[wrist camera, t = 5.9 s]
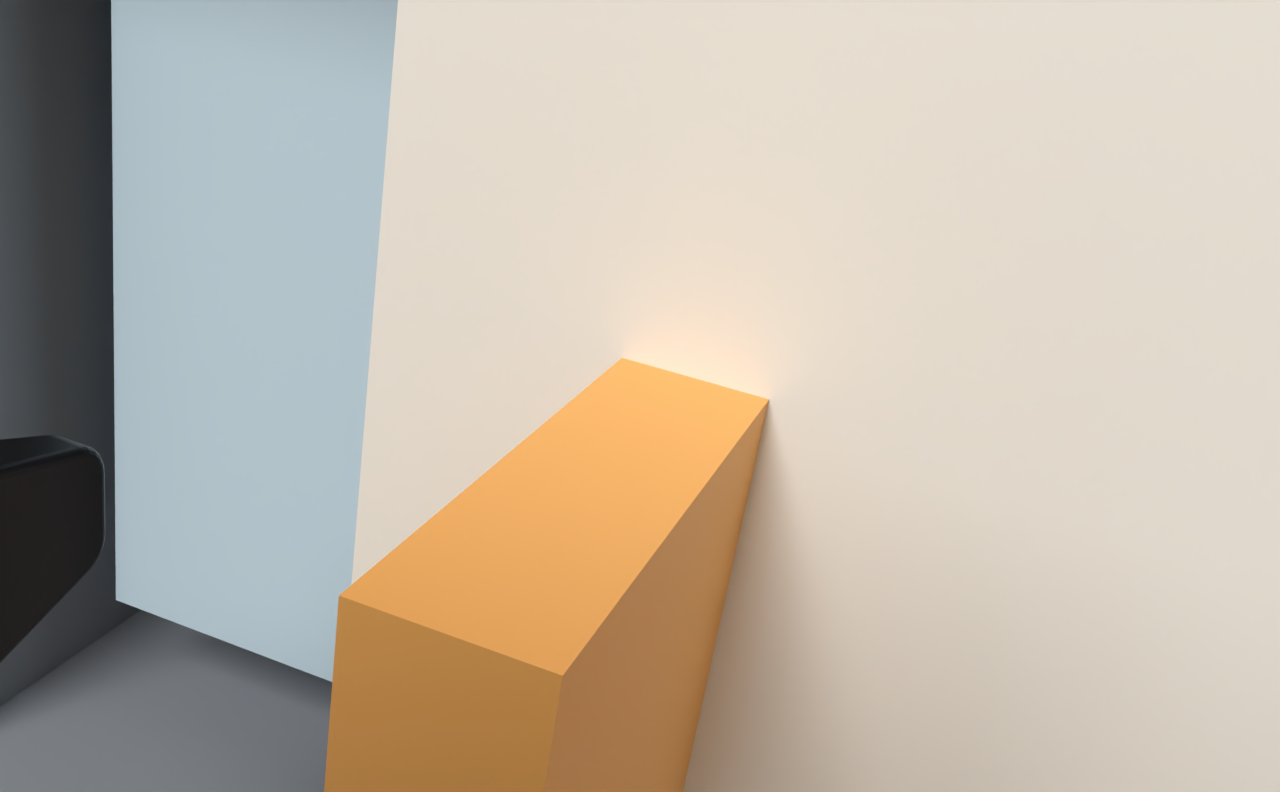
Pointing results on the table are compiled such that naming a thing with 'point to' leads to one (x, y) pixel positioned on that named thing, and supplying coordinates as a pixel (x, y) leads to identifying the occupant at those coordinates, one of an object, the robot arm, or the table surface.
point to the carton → (191, 372)
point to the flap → (821, 401)
